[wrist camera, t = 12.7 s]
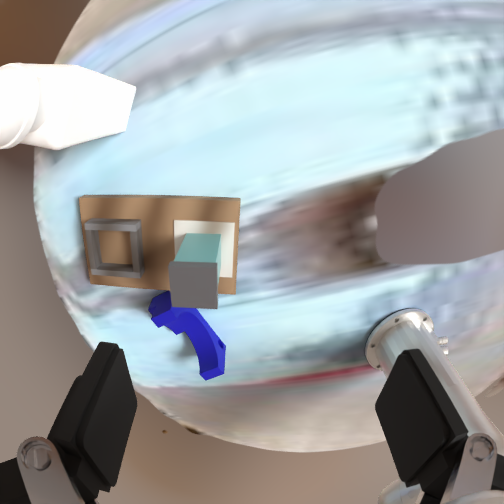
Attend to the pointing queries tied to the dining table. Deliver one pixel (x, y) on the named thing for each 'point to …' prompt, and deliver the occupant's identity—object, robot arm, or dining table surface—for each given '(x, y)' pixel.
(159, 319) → the cable clip
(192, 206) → the board
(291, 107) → the dining table surface
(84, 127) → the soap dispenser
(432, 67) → the dining table surface
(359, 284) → the dining table surface
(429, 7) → the dining table surface
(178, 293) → the plug
